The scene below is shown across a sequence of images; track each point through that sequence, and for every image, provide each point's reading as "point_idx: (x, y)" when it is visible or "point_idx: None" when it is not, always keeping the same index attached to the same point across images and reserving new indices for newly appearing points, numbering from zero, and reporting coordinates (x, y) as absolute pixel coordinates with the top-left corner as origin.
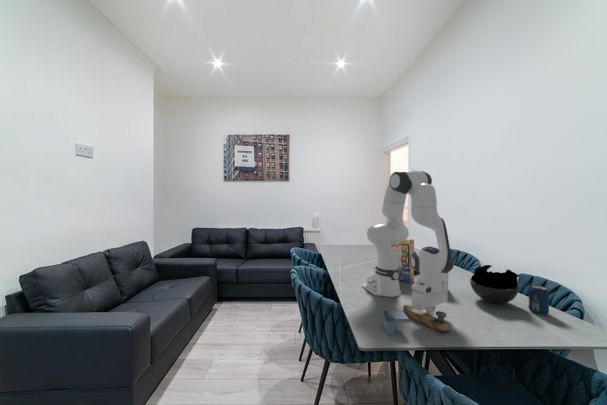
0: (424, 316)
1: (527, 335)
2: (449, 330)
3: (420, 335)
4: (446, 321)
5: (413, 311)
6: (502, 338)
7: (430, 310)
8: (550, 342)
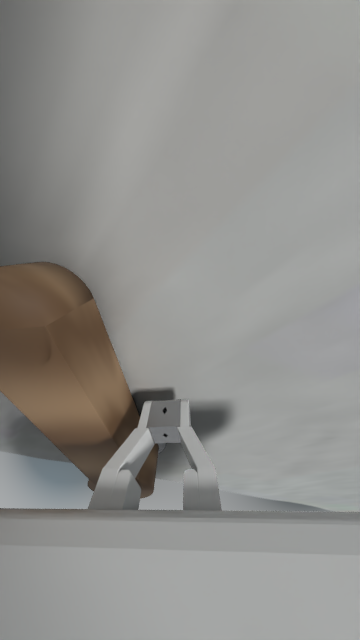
0: (71, 455)
1: (334, 495)
2: (162, 450)
3: (37, 434)
4: (150, 492)
5: (21, 406)
6: (262, 487)
7: (178, 431)
8: (330, 507)
